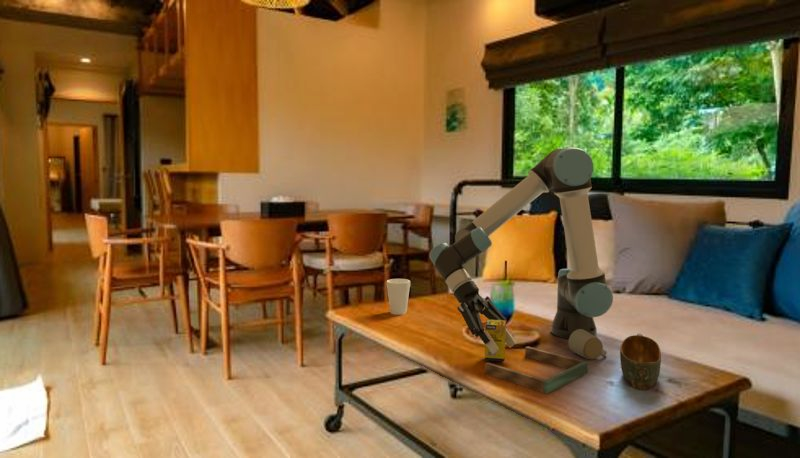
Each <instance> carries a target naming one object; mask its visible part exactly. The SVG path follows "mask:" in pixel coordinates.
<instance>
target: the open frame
mask: <svg viewBox="0 0 800 458" xmlns="http://www.w3.org/2000/svg"><path fill="white" fill-rule="evenodd" d="M524 348H525V350H524V357H525V358H529V359H532V360H536V361H539V362H543V363H545V364H550V365H553V366H557V367H561V368H564V369H565V370H562V371H561V372H558V373H557V374H556V375H553V376H551V377H549V378H546V379H544V378H541V377H538V376H534V375H531V374H527V373H525V372H521V371H517V370H515V369H514V370H513V369H512V368H507V367H505V366H501V365H498V364H494V363H491V362H489V361H488V362H485V364H484V367H485V368H484V374H485V375H488V376H491V377H494V378H498V379H500V380H504V381H506V382H510V383H512V384H517V385H519V386H522V387H526V388H528V389H531V390H534V391H537V392H541V393H544V394H546V395H548V394H550V393H552V392H554V391H555V390H557V389H559V388H561V387H563V386H565V385H566V384H568V383H570V382H572V381H574V380H575V379H578V378H579V377H581V376H584V375H585V374H587V373H588V364H589V363H588V361H584V360H580V359H577V358H573V357H570V356H565V355H561V354H558V353H554V352H551V351H547V350H543V349H538V348H535V347H531V346H525V347H524Z"/></svg>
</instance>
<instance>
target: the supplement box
mask: <svg viewBox="0 0 800 458" xmlns="http://www.w3.org/2000/svg"><path fill="white" fill-rule="evenodd" d="M506 323H507V322H506V321H505V320H489V319H488V318H486V320H485V324H484V325H485V326H484V332H485V331H486V330H487V331H488V333H489V334H490V336H491V337H492V339H493V340H494V342H495V343H496V345H497V346H498V348H499V350H498V351H497V352H496V353H494V354H493V355H492V353H491V352H490V350H489V349H488V347H487V346H486V344H484V360H485V361H493V362H494V361H495V362H505V359H506V357H505V356H506V342H505V334H506V327H507V326H506V325H507V324H506Z"/></svg>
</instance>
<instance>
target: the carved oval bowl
mask: <svg viewBox="0 0 800 458" xmlns="http://www.w3.org/2000/svg"><path fill="white" fill-rule="evenodd" d="M619 351H620V352H619V356H620V357H619V358H620V368H621V372H622V376H623V379H624V381H625V383H627V385H629V386H630V387H631V386H632V387H631V388H633V387H634V389H635V390H640V389H641V390H643V391H645V390H646V389H647V390H651V389H652V388H653V387H655V385H656V384H657V382H658V379H659V377H660V373H661V364H662V363H661V362H662V360H661V359H662V353H661V352H662V351H661V348H660V346H659V344H658V342H657V341H656V340H654V339H653V338H651V337H648V336H646V335H645V336H644V335H643V334H642V333H637V335H636V334H634V335H629V336H628V337H626V338H624V340H622V342H621V344H620V350H619ZM650 388H651V389H650ZM647 390H646V391H647Z"/></svg>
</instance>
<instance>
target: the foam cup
mask: <svg viewBox="0 0 800 458" xmlns="http://www.w3.org/2000/svg"><path fill="white" fill-rule="evenodd" d="M386 288H387V289H386V290H387V296H388V304H389V312H390V314H391V315H396V316H401V315H406V314H407V310H408V304H409V302H408V301H409V295H410V288H411V280H409V279H406V278H391V279H387V280H386Z"/></svg>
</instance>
